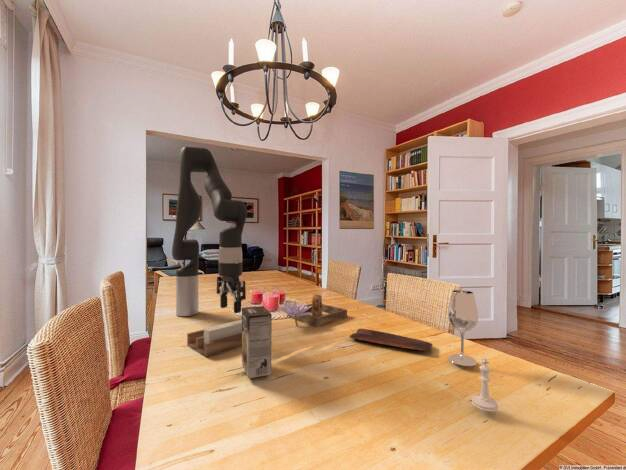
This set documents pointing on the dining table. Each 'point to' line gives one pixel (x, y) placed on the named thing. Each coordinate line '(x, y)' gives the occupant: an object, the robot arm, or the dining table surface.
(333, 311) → the square wooden tray
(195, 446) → the dining table surface
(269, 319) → the coffee box
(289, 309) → the water lily
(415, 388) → the dining table surface
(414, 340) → the wooden tablet
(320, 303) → the stone disc
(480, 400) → the chess piece
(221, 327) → the cream rectangular block
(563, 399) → the dining table surface
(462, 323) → the wineglass
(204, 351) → the rack
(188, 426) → the dining table surface
